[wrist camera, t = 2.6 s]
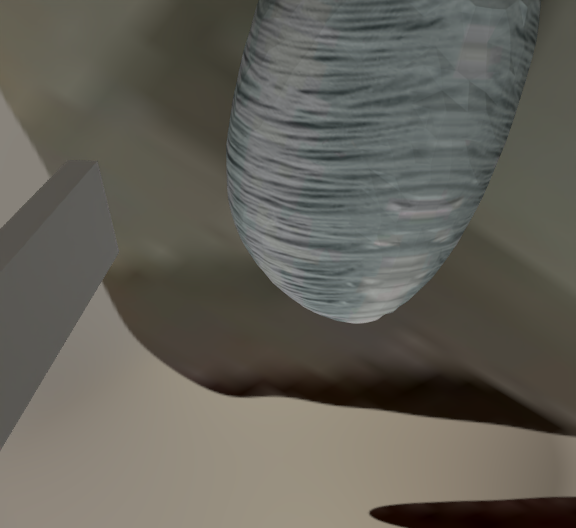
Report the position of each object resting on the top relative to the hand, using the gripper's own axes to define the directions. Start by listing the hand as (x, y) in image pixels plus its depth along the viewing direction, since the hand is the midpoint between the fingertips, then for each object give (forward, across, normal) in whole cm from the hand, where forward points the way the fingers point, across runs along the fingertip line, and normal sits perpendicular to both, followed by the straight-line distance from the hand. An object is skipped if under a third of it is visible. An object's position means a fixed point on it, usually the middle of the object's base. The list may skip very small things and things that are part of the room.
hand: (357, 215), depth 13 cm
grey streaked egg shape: (+10, 0, 0) cm, 10 cm away
